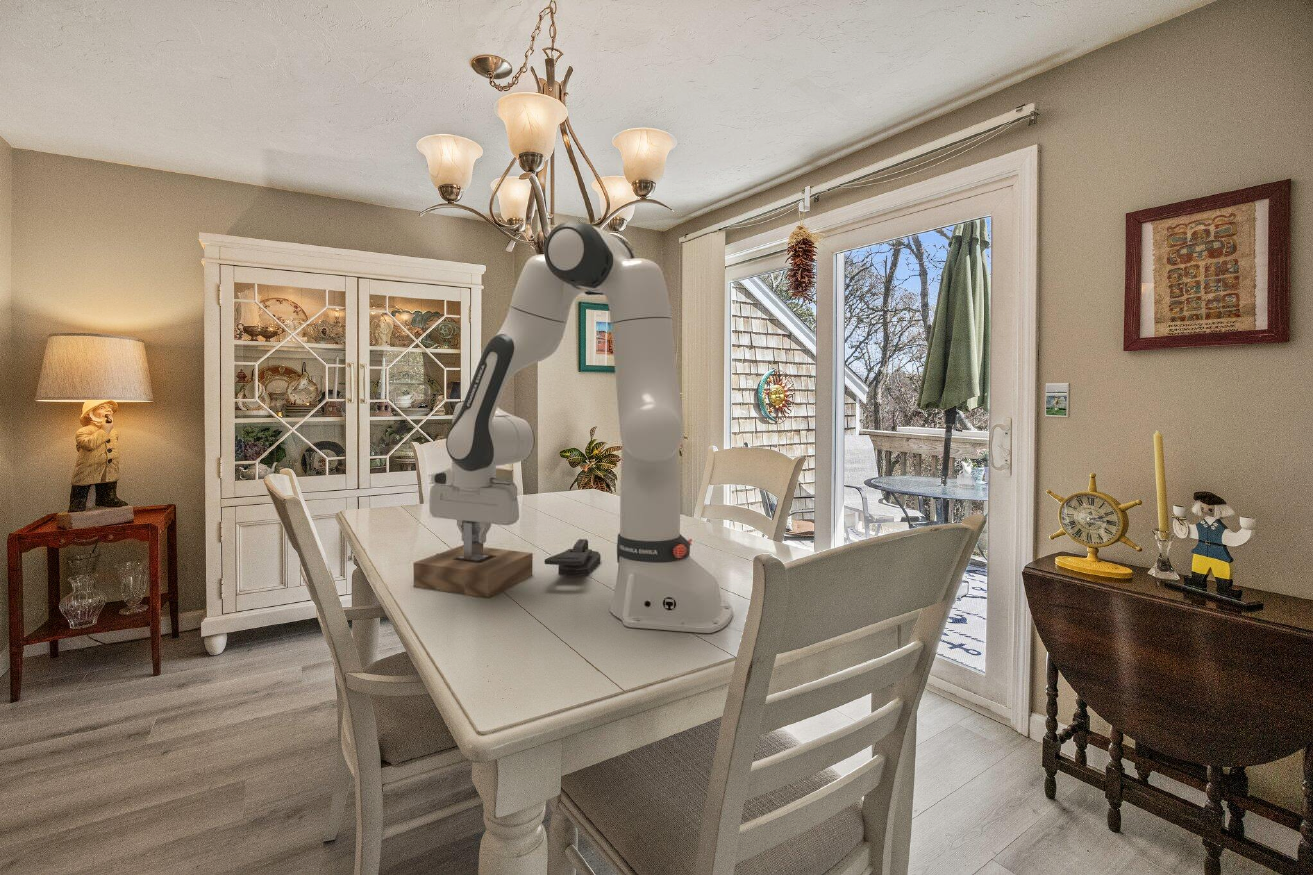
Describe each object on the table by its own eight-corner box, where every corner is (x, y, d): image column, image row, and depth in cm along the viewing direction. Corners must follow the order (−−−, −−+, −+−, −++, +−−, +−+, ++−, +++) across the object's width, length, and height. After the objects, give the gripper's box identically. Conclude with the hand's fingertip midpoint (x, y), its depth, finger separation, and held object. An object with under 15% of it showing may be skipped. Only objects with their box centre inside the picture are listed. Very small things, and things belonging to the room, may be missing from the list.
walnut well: (532, 575, 133) (532, 553, 133) (488, 598, 118) (488, 572, 118) (464, 566, 139) (463, 544, 139) (413, 586, 124) (413, 562, 124)
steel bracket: (489, 560, 129) (489, 520, 129) (477, 565, 125) (477, 524, 125) (469, 557, 131) (469, 518, 130) (457, 562, 127) (457, 521, 127)
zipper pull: (540, 559, 122) (565, 531, 147) (540, 592, 123) (565, 558, 148) (584, 561, 122) (602, 532, 147) (584, 593, 122) (602, 559, 147)
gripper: (525, 478, 126) (524, 543, 127) (444, 471, 133) (444, 533, 134) (508, 481, 121) (507, 550, 121) (424, 474, 127) (424, 540, 128)
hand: (473, 541), depth 128 cm, fingers closed on steel bracket, 2 cm apart
